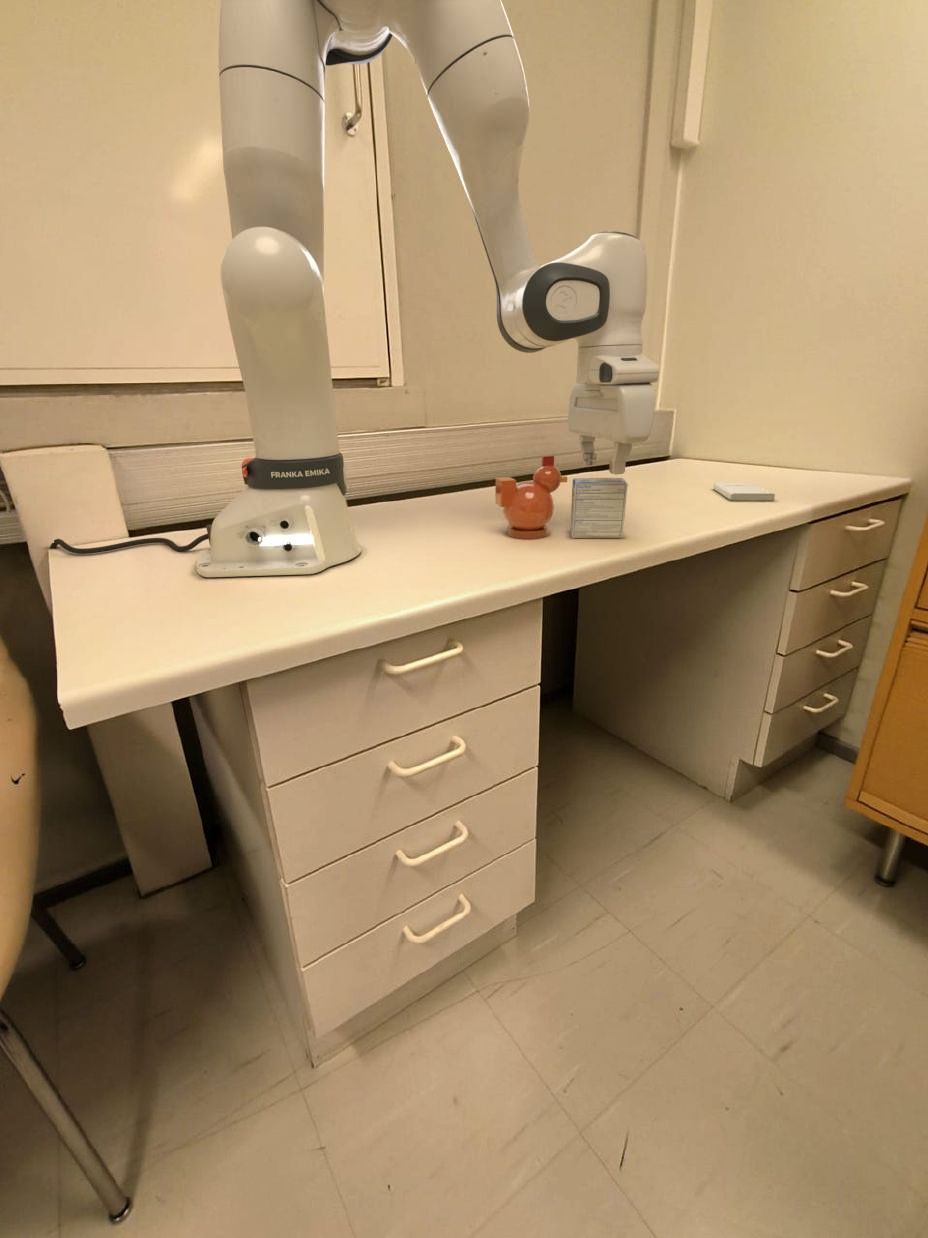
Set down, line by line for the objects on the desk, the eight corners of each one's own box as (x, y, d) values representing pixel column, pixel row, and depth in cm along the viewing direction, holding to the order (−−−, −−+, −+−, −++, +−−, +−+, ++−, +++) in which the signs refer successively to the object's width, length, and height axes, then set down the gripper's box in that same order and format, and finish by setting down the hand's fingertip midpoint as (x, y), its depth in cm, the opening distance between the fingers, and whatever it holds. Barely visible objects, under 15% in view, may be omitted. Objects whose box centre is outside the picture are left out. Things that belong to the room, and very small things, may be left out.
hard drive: (729, 501, 111) (712, 489, 122) (773, 501, 110) (752, 489, 121) (731, 493, 110) (713, 482, 122) (775, 493, 109) (754, 482, 120)
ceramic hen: (505, 542, 87) (506, 461, 82) (491, 530, 94) (491, 455, 89) (573, 536, 89) (577, 457, 84) (554, 525, 96) (557, 451, 91)
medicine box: (618, 531, 91) (623, 477, 88) (623, 538, 87) (628, 482, 84) (569, 531, 92) (572, 477, 89) (571, 538, 88) (574, 482, 84)
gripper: (559, 371, 89) (556, 461, 94) (622, 368, 70) (613, 480, 76) (596, 370, 90) (591, 459, 96) (667, 367, 72) (656, 477, 77)
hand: (602, 469), depth 86 cm, fingers open, 8 cm apart
